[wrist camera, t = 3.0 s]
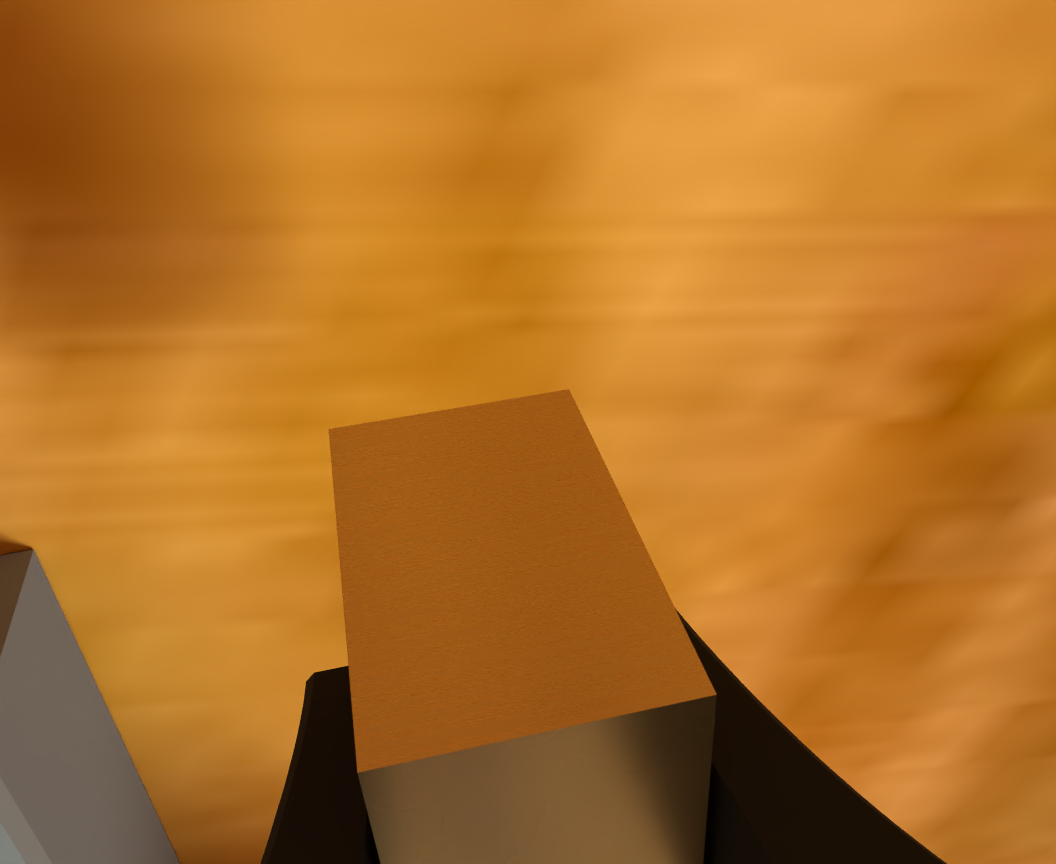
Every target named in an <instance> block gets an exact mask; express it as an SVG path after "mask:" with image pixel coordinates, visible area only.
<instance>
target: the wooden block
mask: <svg viewBox="0 0 1056 864" xmlns="http://www.w3.org/2000/svg"><path fill="white" fill-rule="evenodd" d="M329 439H330V451H331V463H332V475H333V487H334V499H335V511H336V523H337V535H338V547H339V558H340V570H341V582H342V594H343V606H344V618H345V630H346V642H347V654H348V666H349V678H350V690H351V702H352V714H353V726H354V737H355V749H356V761H357V773H358V777H359V781H360V785H361V789H362V793H363V797H364V800H365V804H366V808H367V812H368V816H369V820H370V824H371V828H372V832H373V836H374V840H375V844H376V848H377V852H378V856H379V860H380V863H381V864H703V859H704V847H705V834H706V822H707V809H708V797H709V785H710V772H711V760H712V747H713V735H714V722H715V710H716V697H717V694H716V692H715V690H714V688H713V686H712V684H711V682H710V680H709V678H708V676H707V674H706V671H705V669H704V667H703V665H702V663H701V661H700V659H699V657H698V655H697V653H696V651H695V649H694V647H693V645H692V643H691V640H690V638H689V636H688V634H687V632H686V630H685V628H684V626H683V624H682V622H681V620H680V618H679V616H678V614H677V612H676V609H675V607H674V605H673V603H672V601H671V599H670V597H669V595H668V593H667V591H666V589H665V587H664V585H663V583H662V581H661V578H660V576H659V574H658V572H657V570H656V568H655V566H654V564H653V562H652V560H651V558H650V556H649V554H648V552H647V550H646V547H645V545H644V543H643V541H642V539H641V537H640V535H639V533H638V531H637V529H636V527H635V525H634V523H633V521H632V519H631V516H630V514H629V512H628V510H627V508H626V506H625V504H624V502H623V500H622V498H621V496H620V494H619V492H618V490H617V488H616V485H615V483H614V481H613V479H612V477H611V475H610V473H609V471H608V469H607V467H606V465H605V463H604V461H603V459H602V457H601V454H600V452H599V450H598V448H597V446H596V444H595V442H594V440H593V438H592V436H591V434H590V432H589V430H588V428H587V426H586V423H585V421H584V419H583V417H582V415H581V413H580V411H579V409H578V407H577V405H576V403H575V401H574V399H573V397H572V395H571V392H570V390H569V389H568V390H562V391H556V392H550V393H544V394H538V395H532V396H526V397H520V398H514V399H508V400H502V401H496V402H490V403H484V404H478V405H472V406H466V407H460V408H453V409H447V410H441V411H435V412H429V413H423V414H417V415H411V416H405V417H399V418H393V419H387V420H381V421H375V422H369V423H363V424H357V425H351V426H345V427H339V428H333V429H329Z"/></svg>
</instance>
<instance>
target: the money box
mask: <svg viewBox="0 0 1056 864" xmlns="http://www.w3.org/2000/svg"><path fill="white" fill-rule="evenodd" d="M0 864H180V862H179V860H178V858H177V856H176V854H175V852H174V850H173V847H172V845H171V843H170V841H169V839H168V837H167V835H166V832H165V830H164V828H163V826H162V824H161V822H160V819H159V817H158V815H157V813H156V811H155V809H154V807H153V804H152V802H151V800H150V798H149V796H148V794H147V792H146V789H145V787H144V785H143V783H142V781H141V779H140V777H139V774H138V772H137V770H136V768H135V766H134V764H133V762H132V759H131V757H130V755H129V753H128V751H127V749H126V747H125V744H124V742H123V740H122V738H121V736H120V734H119V732H118V729H117V727H116V725H115V723H114V721H113V719H112V717H111V714H110V712H109V710H108V708H107V706H106V704H105V702H104V699H103V697H102V695H101V693H100V691H99V689H98V687H97V684H96V682H95V680H94V678H93V676H92V674H91V672H90V669H89V667H88V665H87V663H86V661H85V659H84V656H83V654H82V652H81V650H80V648H79V646H78V644H77V641H76V639H75V637H74V635H73V633H72V631H71V629H70V626H69V624H68V622H67V620H66V618H65V616H64V614H63V611H62V609H61V607H60V605H59V603H58V601H57V599H56V596H55V594H54V592H53V590H52V588H51V586H50V584H49V581H48V579H47V577H46V575H45V573H44V571H43V569H42V566H41V564H40V562H39V560H38V558H37V556H36V554H35V551H34V549H33V550H28V551H22V552H17V553H11V554H5V555H0Z"/></svg>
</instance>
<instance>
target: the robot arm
mask: <svg viewBox="0 0 1056 864" xmlns="http://www.w3.org/2000/svg"><path fill="white" fill-rule="evenodd" d="M676 612H677V614H678V616H679V618H680V620H681V622H682V624H683V626H684V628H685V630H686V632H687V634H688V636H689V638H690V640H691V643H692V645H693V647H694V649H695V651H696V653H697V655H698V657H699V659H700V661H701V663H702V665H703V667H704V669H705V671H706V674H707V676H708V678H709V680H710V682H711V684H712V686H713V688H714V690H715V692H716V694H717V697H716V710H715V722H714V735H713V747H712V760H711V772H710V785H709V797H708V809H707V822H706V834H705V847H704V859H703V864H947V863H945V862H944V861H942V860H941V859H940V858H938V857H937V856H936V855H934V854H933V853H932V852H931V851H929V850H928V849H927V848H925V847H924V846H923V845H922V844H920V843H919V842H918V841H916V840H915V839H914V838H913V837H911V836H910V835H909V834H907V833H906V832H905V831H904V830H902V829H901V828H900V827H898V826H897V825H896V824H895V823H893V822H892V821H891V820H890V819H889V818H887V817H886V816H885V815H884V814H882V813H881V812H880V811H879V810H878V809H876V808H875V807H874V806H873V805H872V804H871V803H869V802H868V801H867V800H866V799H865V798H863V797H862V796H861V795H860V794H859V793H857V792H856V791H855V790H854V789H853V788H852V787H851V786H850V785H848V784H847V783H846V782H845V781H844V780H843V779H842V778H840V777H839V776H838V775H837V774H836V773H835V772H834V771H833V770H831V769H830V768H829V767H828V766H827V765H826V764H825V763H824V762H822V761H821V760H820V759H819V758H818V757H817V756H816V755H815V754H814V753H813V752H812V751H811V750H809V749H808V748H807V747H806V746H805V745H804V744H803V743H802V742H801V741H800V740H799V739H798V738H797V737H796V736H795V735H794V734H793V733H792V732H791V731H790V730H789V729H788V728H786V727H785V726H784V725H783V724H782V723H781V722H780V721H779V720H778V719H777V718H776V717H775V716H774V715H773V714H772V713H771V712H770V711H769V710H768V709H767V708H766V707H765V706H764V705H763V704H762V703H761V702H760V701H759V700H758V699H757V698H756V697H755V696H754V695H753V694H752V693H751V692H750V691H749V690H748V689H747V688H746V687H745V686H744V685H743V684H742V683H741V682H740V680H739V679H738V678H737V677H736V676H735V675H734V674H733V673H732V672H731V671H730V670H729V669H728V668H727V667H726V666H725V664H724V663H723V662H722V661H721V660H720V659H719V658H718V657H717V656H716V655H715V654H714V652H713V651H712V650H711V649H710V648H709V647H708V646H707V645H706V644H705V642H704V641H703V640H702V639H701V638H700V637H699V636H698V635H697V633H696V632H695V631H694V630H693V629H692V628H691V626H690V625H689V624H688V623H687V622H686V621H685V620H684V618H683V617H682V616H681V615H680V614H679V612H678V611H677V610H676ZM261 864H381V863H380V860H379V856H378V852H377V848H376V844H375V840H374V836H373V832H372V828H371V824H370V820H369V816H368V812H367V808H366V804H365V800H364V797H363V793H362V789H361V785H360V781H359V777H358V773H357V761H356V749H355V737H354V726H353V714H352V702H351V690H350V678H349V666H345V667H340V668H335V669H330V670H325V671H320V672H315V673H314V674H313V675H312V676H311V677H310V678H309V679H308V680H307V681H306V688H305V696H304V703H303V709H302V714H301V720H300V725H299V730H298V735H297V739H296V743H295V748H294V752H293V756H292V760H291V764H290V767H289V771H288V775H287V779H286V783H285V787H284V790H283V793H282V796H281V800H280V803H279V806H278V810H277V813H276V816H275V820H274V823H273V826H272V829H271V833H270V836H269V839H268V843H267V846H266V849H265V852H264V855H263V858H262V861H261Z"/></svg>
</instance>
